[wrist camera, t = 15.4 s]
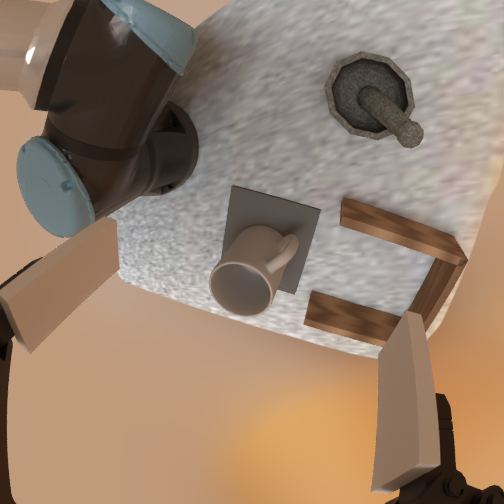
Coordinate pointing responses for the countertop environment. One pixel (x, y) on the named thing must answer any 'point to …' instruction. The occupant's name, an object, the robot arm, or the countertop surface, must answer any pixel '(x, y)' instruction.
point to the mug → (252, 270)
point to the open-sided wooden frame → (427, 299)
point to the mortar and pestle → (373, 99)
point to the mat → (272, 226)
